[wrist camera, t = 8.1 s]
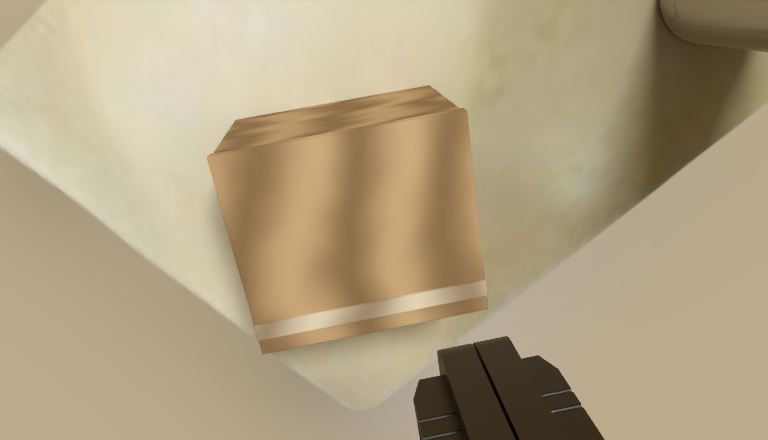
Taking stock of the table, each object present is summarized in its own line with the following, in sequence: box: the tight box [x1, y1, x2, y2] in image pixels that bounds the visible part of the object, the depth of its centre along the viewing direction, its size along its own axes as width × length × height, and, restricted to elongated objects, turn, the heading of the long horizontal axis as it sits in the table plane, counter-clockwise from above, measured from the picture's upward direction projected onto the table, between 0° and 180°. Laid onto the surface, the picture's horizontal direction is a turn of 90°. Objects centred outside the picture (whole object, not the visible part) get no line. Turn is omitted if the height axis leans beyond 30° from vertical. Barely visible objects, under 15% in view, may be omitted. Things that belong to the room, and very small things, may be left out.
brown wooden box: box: [214, 86, 459, 153], centre depth 42 cm, size 16×14×10 cm
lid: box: [207, 108, 488, 354], centre depth 36 cm, size 16×14×1 cm
